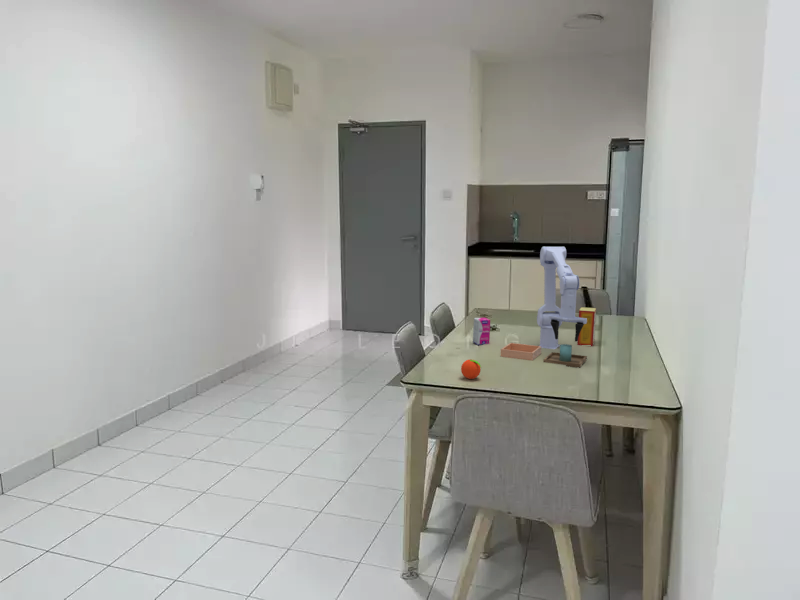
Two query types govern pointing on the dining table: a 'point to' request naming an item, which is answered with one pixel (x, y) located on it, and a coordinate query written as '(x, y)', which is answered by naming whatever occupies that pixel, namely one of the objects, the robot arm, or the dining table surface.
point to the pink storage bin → (521, 351)
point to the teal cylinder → (565, 352)
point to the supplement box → (481, 331)
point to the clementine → (470, 369)
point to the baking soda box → (587, 326)
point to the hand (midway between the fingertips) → (566, 339)
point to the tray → (575, 362)
